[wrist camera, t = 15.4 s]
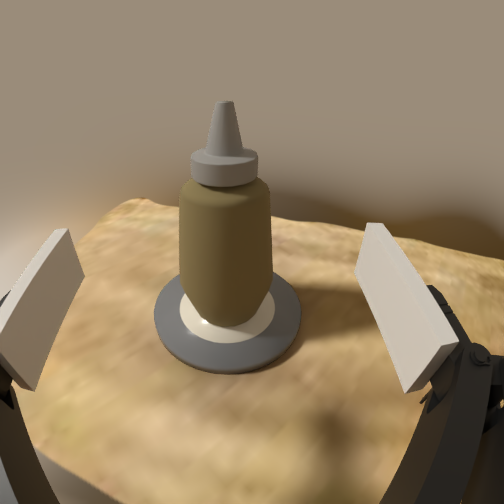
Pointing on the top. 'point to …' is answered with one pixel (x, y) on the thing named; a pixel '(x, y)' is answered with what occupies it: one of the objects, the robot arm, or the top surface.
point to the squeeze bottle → (225, 227)
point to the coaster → (228, 331)
